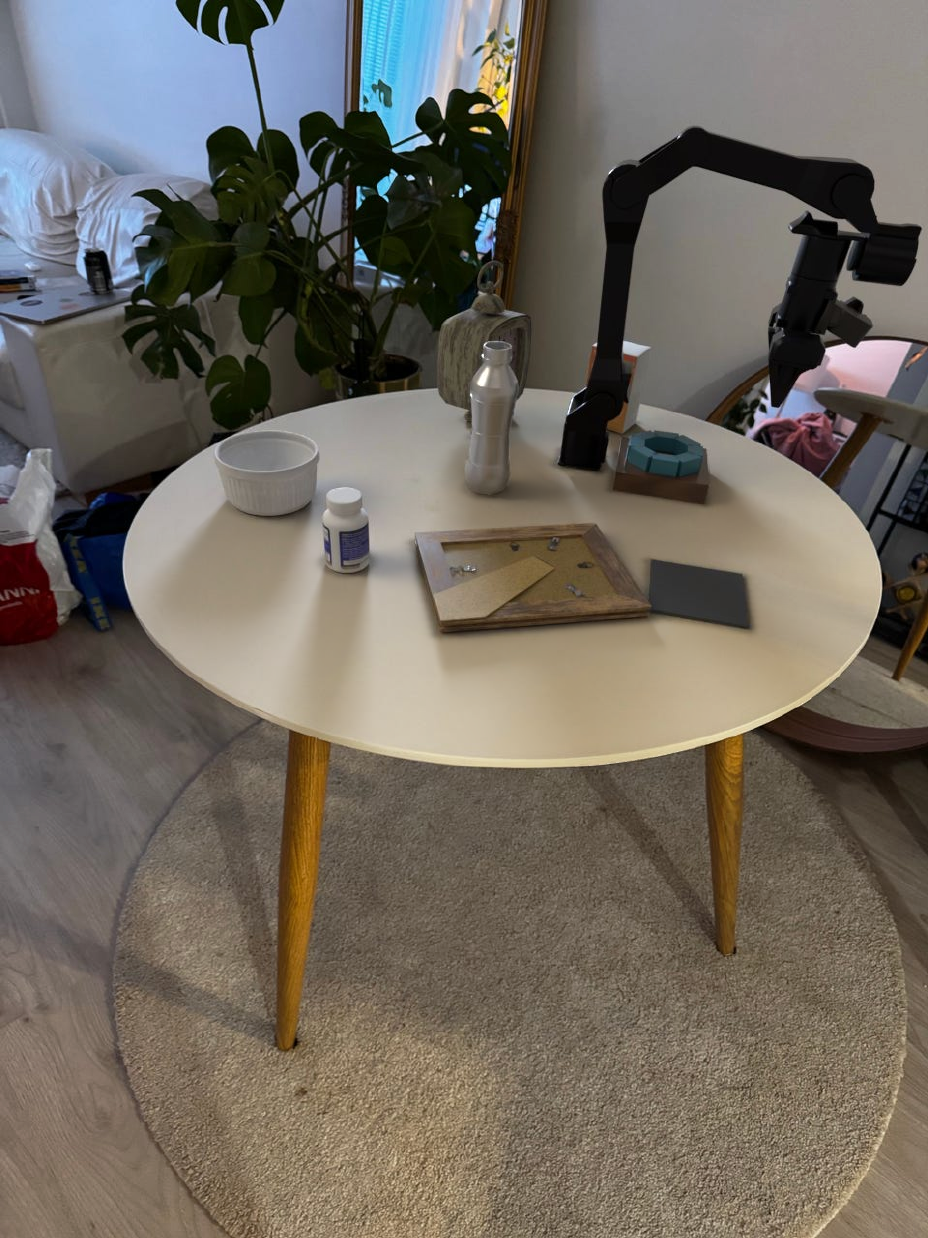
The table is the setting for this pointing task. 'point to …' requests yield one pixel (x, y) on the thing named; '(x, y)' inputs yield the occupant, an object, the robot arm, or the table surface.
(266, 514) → the ramekin
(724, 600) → the mat
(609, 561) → the picture frame
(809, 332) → the robot arm
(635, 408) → the small box
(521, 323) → the tabletop clock
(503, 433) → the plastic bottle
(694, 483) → the platform
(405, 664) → the table surface
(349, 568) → the pill bottle
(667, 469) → the ring
